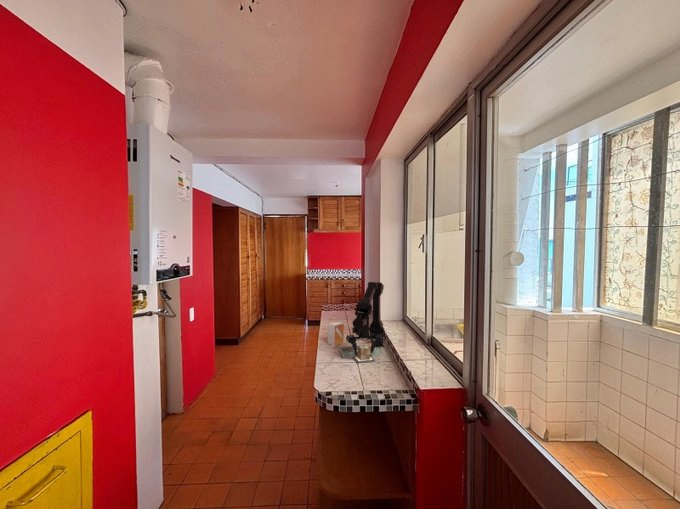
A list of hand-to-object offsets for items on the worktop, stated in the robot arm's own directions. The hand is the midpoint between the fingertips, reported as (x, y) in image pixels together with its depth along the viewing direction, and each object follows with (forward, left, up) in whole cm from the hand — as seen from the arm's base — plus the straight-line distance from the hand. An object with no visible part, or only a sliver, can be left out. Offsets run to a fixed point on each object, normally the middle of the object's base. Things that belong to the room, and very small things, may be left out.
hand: (363, 353), depth 165 cm
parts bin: (-1, -11, -3) cm, 12 cm away
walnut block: (0, 0, -2) cm, 2 cm away
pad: (0, 0, -3) cm, 3 cm away
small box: (+7, -31, -4) cm, 32 cm away
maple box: (-8, -11, -4) cm, 14 cm away
